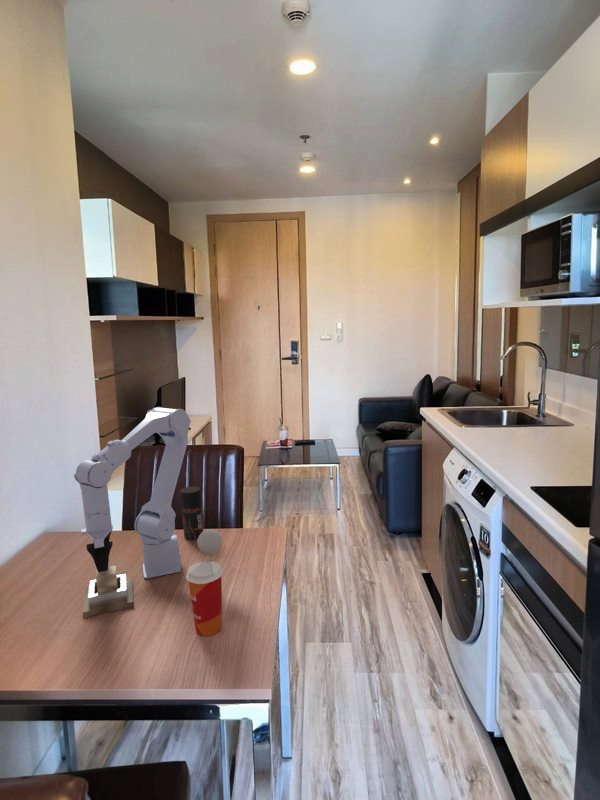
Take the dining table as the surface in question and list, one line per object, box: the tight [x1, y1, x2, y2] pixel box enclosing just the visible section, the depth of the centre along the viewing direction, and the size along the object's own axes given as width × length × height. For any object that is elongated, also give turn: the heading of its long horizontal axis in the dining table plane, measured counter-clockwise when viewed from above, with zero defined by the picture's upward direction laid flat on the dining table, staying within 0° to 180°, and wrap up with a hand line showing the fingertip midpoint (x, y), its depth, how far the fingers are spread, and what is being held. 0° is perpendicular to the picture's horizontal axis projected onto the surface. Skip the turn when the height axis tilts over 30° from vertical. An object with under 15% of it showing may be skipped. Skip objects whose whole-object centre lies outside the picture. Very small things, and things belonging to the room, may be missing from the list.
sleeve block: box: [95, 565, 118, 593], centre depth 122 cm, size 4×4×6 cm
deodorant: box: [179, 486, 204, 541], centre depth 156 cm, size 6×6×15 cm
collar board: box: [82, 573, 135, 618], centre depth 123 cm, size 11×12×4 cm
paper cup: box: [185, 560, 224, 637], centre depth 108 cm, size 8×8×14 cm
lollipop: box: [196, 529, 223, 562], centre depth 125 cm, size 6×6×15 cm
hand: (103, 563), depth 122 cm, fingers open, 7 cm apart
